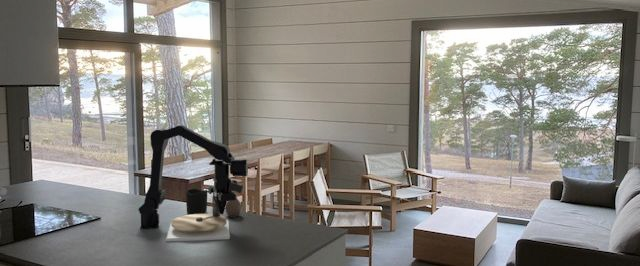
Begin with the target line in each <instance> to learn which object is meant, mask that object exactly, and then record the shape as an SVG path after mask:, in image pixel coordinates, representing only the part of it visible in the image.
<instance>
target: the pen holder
mask: <svg viewBox="0 0 640 266" xmlns="http://www.w3.org/2000/svg"><path fill="white" fill-rule="evenodd" d="M185 199H186V203H185V204H186V213H187V215H191V214H207V211H208V189H204V190H200V189H197V188H190V189H186V190H185Z"/></svg>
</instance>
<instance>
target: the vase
mask: <svg viewBox="0 0 640 266" xmlns="http://www.w3.org/2000/svg"><path fill="white" fill-rule="evenodd" d="M225 213H226V215H227V216H228V217H229V218H235V217H236V218H237V217H238V216H239V215H240V214H241V213H242V204H241V201H240V200H239V199H238V197H237V196H236V200H232V201H227V203H226V206H225Z"/></svg>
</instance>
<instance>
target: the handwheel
mask: <svg viewBox="0 0 640 266" xmlns="http://www.w3.org/2000/svg"><path fill="white" fill-rule="evenodd" d="M226 220H227V218H226V217H225V216H223V215H221V214H220V212H219V210H218V208H217V205H216V203H215V202H213V203H212V213H204V214H186V215H181V216H178V217H175V218H174V219H172V220H171V222H172V227H173V228H175V229H178V230H184V231H207V230H213V229H217V228H220V227H223V226H224V225H226Z"/></svg>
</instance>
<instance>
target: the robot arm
mask: <svg viewBox="0 0 640 266" xmlns="http://www.w3.org/2000/svg"><path fill="white" fill-rule="evenodd" d="M178 136H179V137H181V138H183V139H186V140H187V141H189V142H191V143H192V144H194V145H197V146H198V147H200V148H202V149H204V151H206V152H207V153H209V155H211V157H213V159H212V160H211V161H210V162H209V166H214V177H212V181H213V182H214V185H211V186H209V187H208V189H207V194H209V195H212V194H213V193H214V195H213V196H212V199H213V201H214V203H216V205H217V208H218V210H219V212H220V215H224V212H225V211H226V204H227V202H228V201H232V200H236V197H237V194H236V193H235V192H237V193H239V194H241V193H242V191H243V189H244V185H243V184H240V183H238V181H237V180H235V179H231V178H230V175H232V177H248V175H249V166H248V159H246V158H245V159H244V158H243V159H235V157H234V155H233V154H232V153H231V150H230V147H229V145H227V144H225V143H221V142H218V141H214V140H211V139H208V138H207V137H205V136H203V135H202V134H199V133H197V132H196V131H194V130H192V129H190V128H188V127H186V125H184V124H178V125H177V126H174V127H170V128H168V129H165V128H157V129H155V130H153V131H152V132H151V133H150V137H149V138H150V146H151V149H152V159H151V167H150V168H151V169H150V181H149V187H148V188H147V189H148V190H147V192H146V194H145V198H144V202H143V203H142V205H141V206H140V207H138V212H139V214H140V226H139V228H140V229H157V228H158V226H160V214H159V212H158V210H159V209H160V208H159V207H160V206H161V205H162V204H163V203H164V201H165V200H166V191H167V190H166V189H163V188H162V180H163V179H162V178H163V168H164V159H165V150H166V148H167V146H168V144H169V139H171V138H175V137H178Z"/></svg>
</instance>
